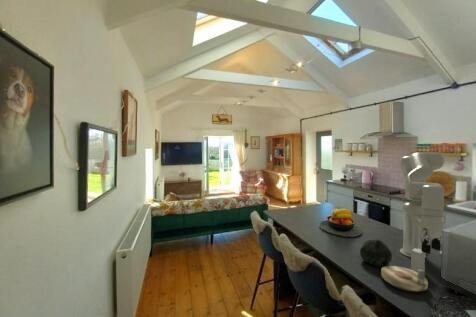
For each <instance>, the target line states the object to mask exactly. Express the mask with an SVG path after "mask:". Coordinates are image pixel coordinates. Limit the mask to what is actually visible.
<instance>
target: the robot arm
mask: <svg viewBox="0 0 476 317" xmlns="http://www.w3.org/2000/svg"><path fill="white" fill-rule="evenodd" d="M444 164H445V158H444V156H443V155H442V153H440V152H437V151H436V152H428V151H425V152H422V151H421V152H414V153H412V154H411V155H406V156H403V157H401V159H400V168H401V171H402V173H403V176H404V194H405V198H406V199H408V200H410V202H405V203H403V204H402V208H401V209H402V216H403V236H402V238H403V240H402V242H403V243H402V247H401V248H400V249H399V253H400V254H402V255H404V256H406V257H409V258H411V250H413V249H415V248H418V249H421V251H422V252H425V259H426V257H427V255H430V254H431V251H432V250H435V251H439V252H440V251H441V243H442V239H441V238H442V236H443V234H444V232H443V229H444V228H443V227H444V226H443V218H444V207H445V206H444V205H445V203H444V202H445V187H444V186H443V185H442V184H440V183H438V182H428V181H426V182H425V181H424V182H423V180H427V179H429V178H431V177H432V176H433V174H434V171H436V170H439V169H441V168H442V167H443V166H444ZM412 201H415V202H412ZM416 201H418V202H416ZM419 220H420V221H419ZM430 243H431V244H430ZM431 249H432V250H431ZM426 254H427V255H426Z"/></svg>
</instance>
